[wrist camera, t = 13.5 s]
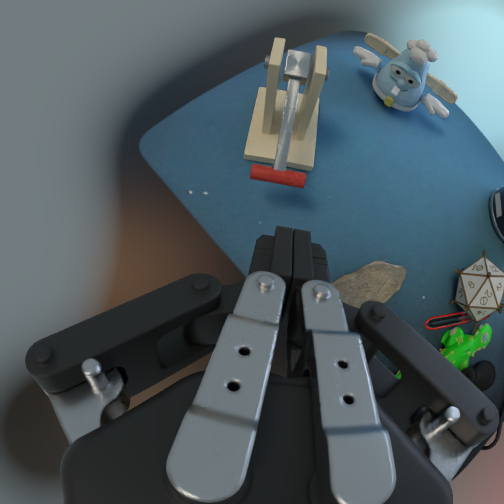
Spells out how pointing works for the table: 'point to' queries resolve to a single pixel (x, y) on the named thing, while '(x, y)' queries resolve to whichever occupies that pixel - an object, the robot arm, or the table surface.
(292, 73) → the lever
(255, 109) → the lever stand
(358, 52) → the toy figure
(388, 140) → the table surface
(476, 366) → the chess piece
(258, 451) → the robot arm
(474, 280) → the game die
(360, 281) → the stone
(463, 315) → the red paper clip
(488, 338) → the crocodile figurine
